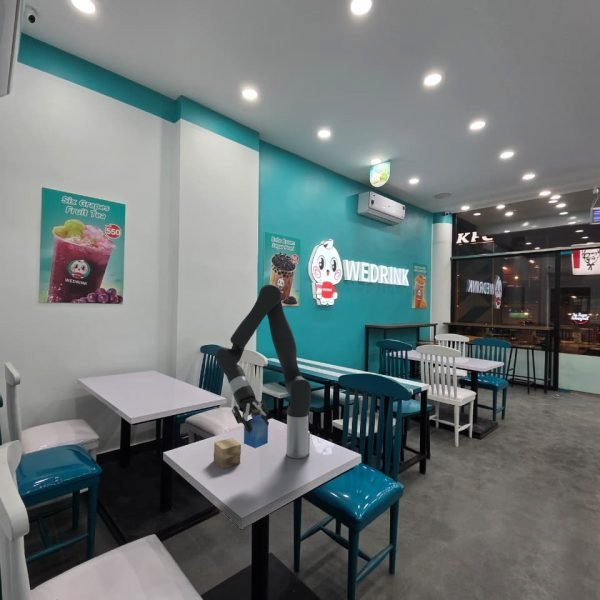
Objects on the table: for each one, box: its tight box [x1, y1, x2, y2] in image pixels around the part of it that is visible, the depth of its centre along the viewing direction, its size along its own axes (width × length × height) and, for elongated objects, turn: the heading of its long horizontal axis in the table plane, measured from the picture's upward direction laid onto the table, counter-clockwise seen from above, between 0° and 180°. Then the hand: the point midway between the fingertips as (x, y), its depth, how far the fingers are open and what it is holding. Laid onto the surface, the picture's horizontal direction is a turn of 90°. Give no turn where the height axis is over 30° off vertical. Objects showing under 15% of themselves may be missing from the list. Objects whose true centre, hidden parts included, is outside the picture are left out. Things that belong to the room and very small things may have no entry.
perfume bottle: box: [243, 409, 269, 449], centre depth 124 cm, size 6×6×12 cm
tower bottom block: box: [213, 451, 241, 470], centre depth 137 cm, size 8×8×4 cm
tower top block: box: [213, 437, 242, 459], centre depth 137 cm, size 8×8×4 cm
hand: (258, 429), depth 123 cm, fingers closed on perfume bottle, 6 cm apart
